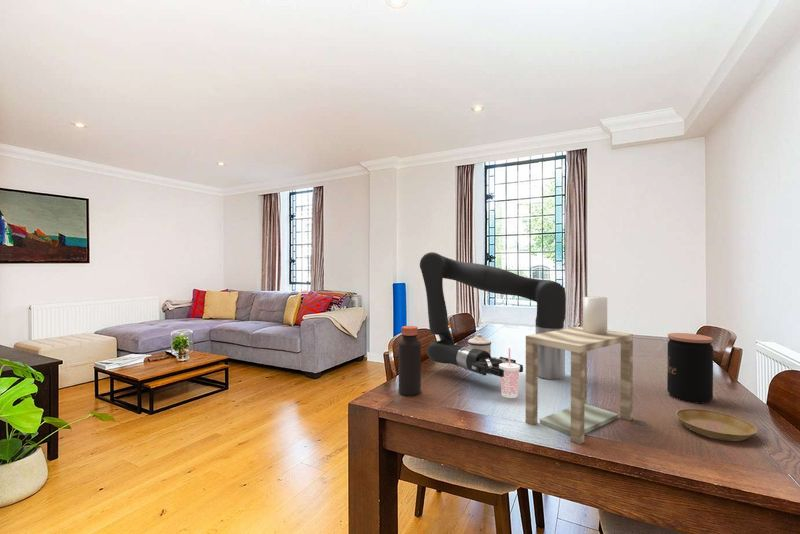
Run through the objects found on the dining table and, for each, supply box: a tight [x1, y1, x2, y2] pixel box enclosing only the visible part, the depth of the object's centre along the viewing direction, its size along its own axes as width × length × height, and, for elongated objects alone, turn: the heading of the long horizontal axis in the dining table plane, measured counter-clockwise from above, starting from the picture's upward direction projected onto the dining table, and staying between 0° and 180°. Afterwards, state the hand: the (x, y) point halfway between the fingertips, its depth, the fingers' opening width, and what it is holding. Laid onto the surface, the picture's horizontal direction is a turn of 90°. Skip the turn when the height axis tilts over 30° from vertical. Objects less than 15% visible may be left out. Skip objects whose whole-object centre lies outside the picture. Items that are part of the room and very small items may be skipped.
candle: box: [582, 296, 608, 334], centre depth 99 cm, size 6×6×9 cm
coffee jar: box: [666, 332, 714, 404], centre depth 111 cm, size 11×11×18 cm
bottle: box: [398, 325, 422, 397], centre depth 116 cm, size 7×7×20 cm
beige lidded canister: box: [467, 333, 492, 357], centre depth 150 cm, size 12×9×12 cm
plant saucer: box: [675, 408, 758, 442], centre depth 90 cm, size 15×15×3 cm
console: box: [525, 326, 634, 445], centre depth 95 cm, size 24×14×22 cm, turn 124°
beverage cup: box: [499, 348, 520, 399], centre depth 113 cm, size 6×6×14 cm
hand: (512, 371), depth 112 cm, fingers open, 8 cm apart
